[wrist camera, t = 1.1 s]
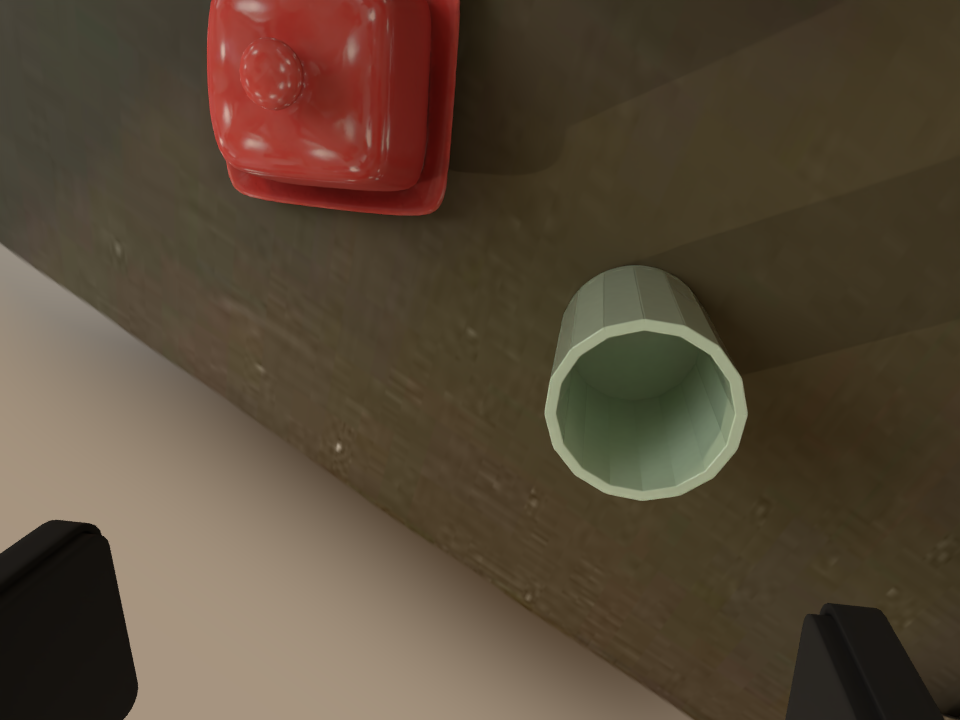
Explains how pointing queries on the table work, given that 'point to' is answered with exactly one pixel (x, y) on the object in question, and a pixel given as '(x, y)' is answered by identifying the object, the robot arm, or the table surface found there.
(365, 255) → the table surface
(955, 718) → the fossilized seashell
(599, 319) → the cup
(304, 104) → the butter dish
